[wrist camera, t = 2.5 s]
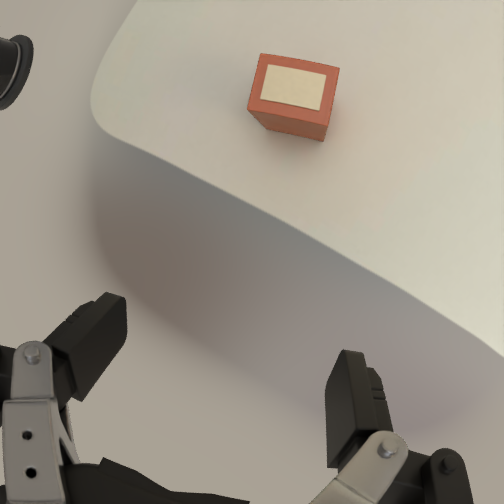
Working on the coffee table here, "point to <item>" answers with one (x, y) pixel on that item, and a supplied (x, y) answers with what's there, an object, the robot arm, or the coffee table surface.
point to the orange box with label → (293, 95)
